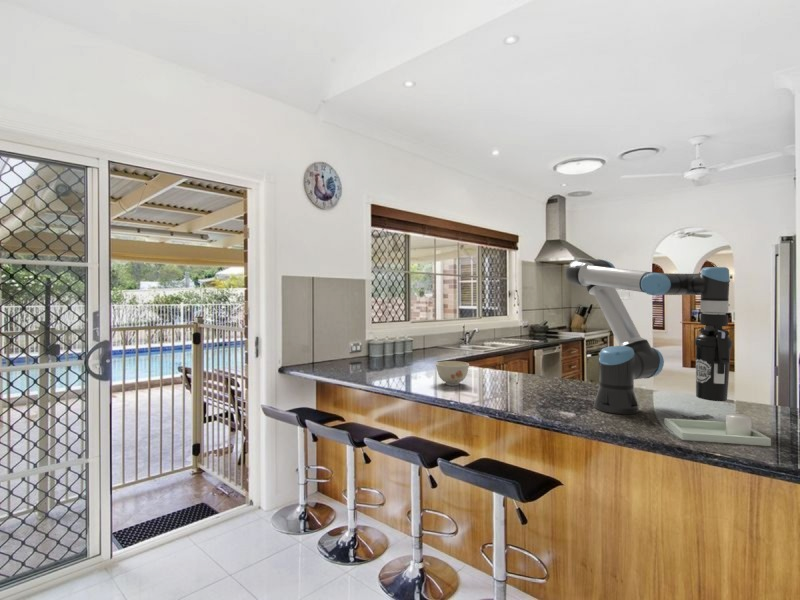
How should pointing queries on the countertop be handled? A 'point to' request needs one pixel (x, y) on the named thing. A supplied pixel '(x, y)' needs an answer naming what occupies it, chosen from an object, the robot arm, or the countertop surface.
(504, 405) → the countertop surface
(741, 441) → the tray
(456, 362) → the bowl
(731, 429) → the white domed cylinder
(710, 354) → the water bottle
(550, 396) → the countertop surface
